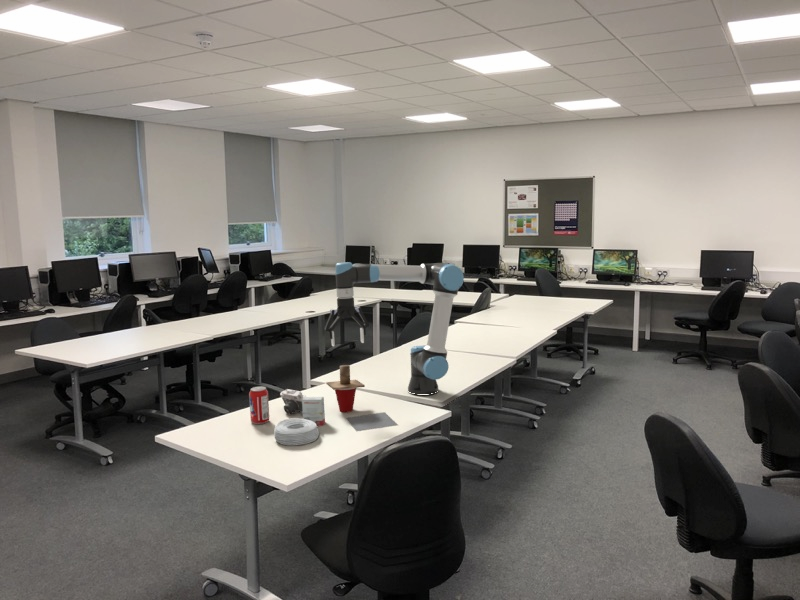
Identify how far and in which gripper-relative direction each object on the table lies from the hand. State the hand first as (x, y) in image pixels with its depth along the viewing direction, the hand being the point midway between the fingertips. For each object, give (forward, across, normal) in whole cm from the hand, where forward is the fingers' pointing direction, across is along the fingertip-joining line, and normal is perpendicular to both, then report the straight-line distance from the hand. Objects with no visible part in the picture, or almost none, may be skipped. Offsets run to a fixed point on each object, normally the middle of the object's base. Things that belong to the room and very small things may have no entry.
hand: (347, 344), depth 269 cm
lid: (+18, -3, -2) cm, 19 cm away
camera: (+30, -25, +8) cm, 40 cm away
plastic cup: (+30, -3, -2) cm, 30 cm away
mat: (+30, +3, -21) cm, 37 cm away
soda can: (+30, -41, 0) cm, 51 cm away
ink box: (+30, -20, -14) cm, 39 cm away
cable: (+30, -30, -26) cm, 50 cm away
